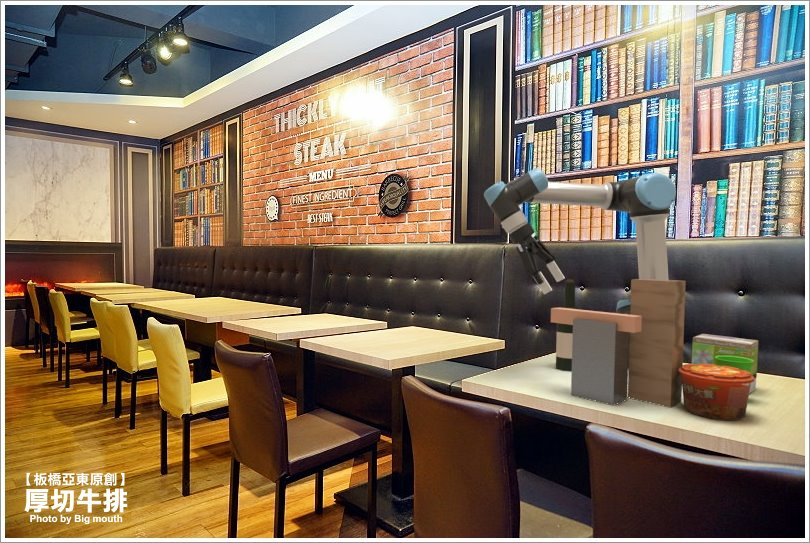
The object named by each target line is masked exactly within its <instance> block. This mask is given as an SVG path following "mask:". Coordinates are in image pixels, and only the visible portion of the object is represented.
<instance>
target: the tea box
mask: <svg viewBox="0 0 810 543" xmlns="http://www.w3.org/2000/svg"><path fill="white" fill-rule="evenodd" d="M691 344H692V346H691V347H692V350H691V363H690V364H695V365H697V364H715V365H717V361H716V358H715V356H719V355H727V356H738V357H745V358H749V359H752V360H754V362H753V364H752V368H751V372H750V374H751V375H752V376H753V377H754V382H751V386H750V391H749V393H750V392H751V393H752V392H753V391H755V389H756V387H757V375H758V373H757V372H758V355H759V340H757V339H748V338H747V339H746V338H742V337H741V338H739V337H733V336H727V335H726V336H724V335H717V334H716V335H715V334H707V333H701V334H698V335H696V336H693V337H692V343H691ZM751 393H750V394H751Z"/></svg>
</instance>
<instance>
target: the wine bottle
mask: <svg viewBox="0 0 810 543" xmlns="http://www.w3.org/2000/svg"><path fill="white" fill-rule="evenodd" d="M575 300H576V282H575V280H574V279H566V281H565V282H564V306H563V308H569V309H576V307H575V305H576V304H575V303H576V302H575ZM572 340H573V325H569V324H561V323H556V340H555V341H556V344H555V346H556V347H555V348H556V350H555V351H556V352H555V370H558V371H559V370H560V371H563V372H564V371H565V372H572Z"/></svg>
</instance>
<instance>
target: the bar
mask: <svg viewBox="0 0 810 543" xmlns="http://www.w3.org/2000/svg"><path fill="white" fill-rule="evenodd" d="M574 318H576V319H584V320H593V321H602V322H610V323H618V329H617V331H624V332H631V333H636V332H641V326H642V316H638V315H628V314H618V313H616V312H609V311H608V312H607V311H606V312H605V311H597V310H596V311H595V310H587V309H586V310H585V309H580V308H578V309H576V308H575V309H569V308H564V307H552V308H550V323H555V324H557V323H561V324H569V325H573V319H574Z"/></svg>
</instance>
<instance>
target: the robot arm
mask: <svg viewBox="0 0 810 543" xmlns="http://www.w3.org/2000/svg"><path fill="white" fill-rule="evenodd" d="M676 196H677V188H676V186H675V183H674V182H673V180H672V179H671V178H669V176H667V175H666V174H663V173H658V172H653V173H645V174H642V175H639V176H636V177H632V178H628V179H624V180H620V181H606V182H604V183H602V184H595V183H581V182H580V183H579V182H564V181H560V182H559V181H549V180H548V177H547V175H546V174H545V172H544V171H543V170H542V169H541V168H537V167H536V168H535V167H534V168H533V169H531V170H530V171H527V173H525V174H523V175H521V176H519V177H517V178H515V179H513V180H510V181H508V182H507V183H505V182H504V181H498V182H497V183H494V184H493V185H492V186H490V187H488V188H487V189H486V190H485V191H484V193H483V197H484V199H485V200H486V202H487V204H488V206H489V207H490V209H491V211H492V212H493V214H494V215H495V216H496V218H497V219H498V221H499V223H500V225H501V228H502V229H504V231H505V232H506V234H508V237H509V239H510V241H511V242H512V244H513V245H517V244H519V245H518V246H517V247H515V248H516V251H517V252H518V254H519V256H520V260H521V262H522V264H523V267H524V268H523V269H525V272H526V275H527V276H528V277H529V278H531V277H532V278H533V279H534V281H535V283H537V285H538V287H539V289H540V290H541V292H542V293H543V295H546V294H548V293H549V292H552V291H553V288H552V286H550V283H549V282H548V280H547V279H546V277H545V276H544V275H543V273H542V271H539V267H538V263H537V259H536V256H537V257H538V258H540V259H541V260H542V261H543V262H544V263H546V267H547V269H548V270H549V272H550V273H551V275H552V276H553V278H554V279H555V281H556V283H558V282H560V281H562V280H564V279H566V278H565V276H564V274H563V273H562V271H561V269H560V268H559V266H558V265H557V263H556V262H555V261H556V259H557V258H556V256H555V255H554V253H552V251H550V249H549V248H548V247H547V246H546V245H545V243H543V242H542V240H541V239H540V238H539V237H538V235H534V236H532V235H533V234H535V232H536V231H535V230H534V227H533V226H532V225H531V223H529V221H528V218H527V216H526V215H525V214H524V211H522V209H521V208H520V205H522V204H524V203H528V204H530V203H531V204H547V205H549V204H550V205H566V206H582V207H583V206H585V207H599V208H600V209H601V210H603V211H614V212H615V211H616V212H621V213H629V218H630V219H629V220H631V221H632V222H634V223H635V237H636V251H637V265H638V266H637V267H638V279H656V280H670V278H669V267H668V266H669V265H668V263H669V262H668V252H667V251H668V250H667V247H668V246H667V236H666V235H667V234H666V233H667V232H666V220H667V218H668V217H669V216H670V206H672V204H673V203H674V202H675V200H676ZM630 308H631V299H621V300H619V301H617V303H616V309H615V313H618V314H628V315H630ZM629 340H630V332H629ZM628 369H629V352H628Z"/></svg>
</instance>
